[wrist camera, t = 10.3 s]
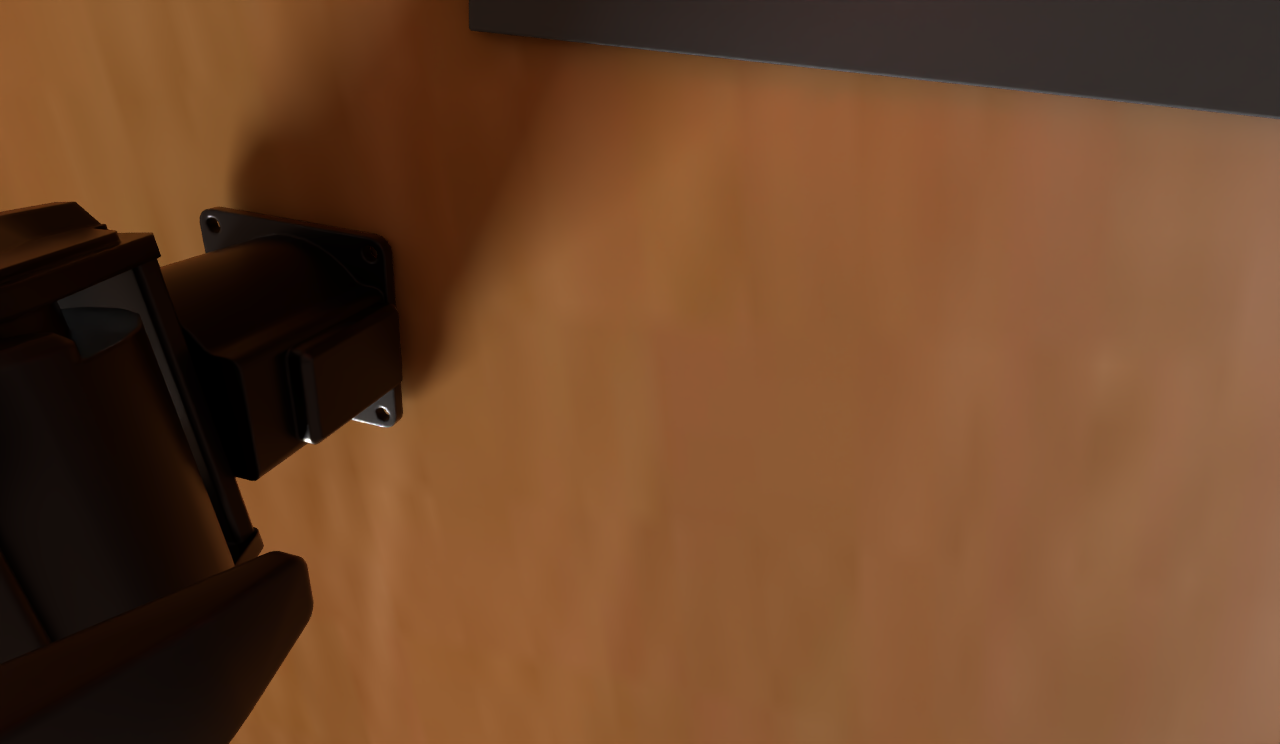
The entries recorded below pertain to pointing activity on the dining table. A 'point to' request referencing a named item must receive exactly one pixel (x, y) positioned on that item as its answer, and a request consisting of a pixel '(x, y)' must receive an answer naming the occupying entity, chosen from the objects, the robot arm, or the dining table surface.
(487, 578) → the dining table surface
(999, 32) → the placemat
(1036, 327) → the dining table surface
